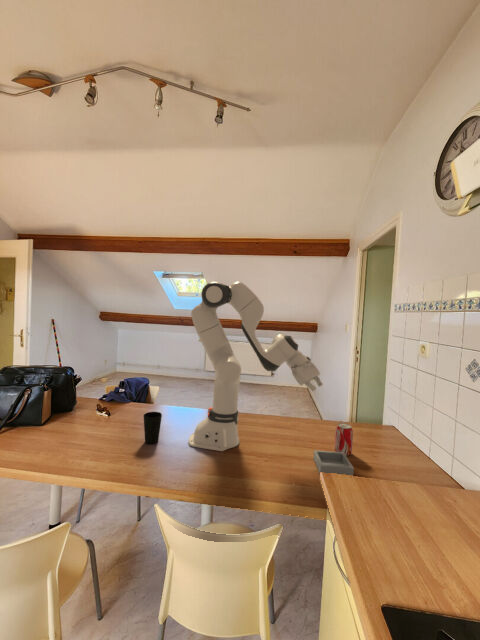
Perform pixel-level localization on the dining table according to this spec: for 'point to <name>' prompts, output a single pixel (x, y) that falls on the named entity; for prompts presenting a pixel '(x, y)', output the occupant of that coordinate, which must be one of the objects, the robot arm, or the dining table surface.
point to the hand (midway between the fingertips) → (318, 387)
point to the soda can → (344, 438)
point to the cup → (152, 427)
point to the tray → (333, 462)
